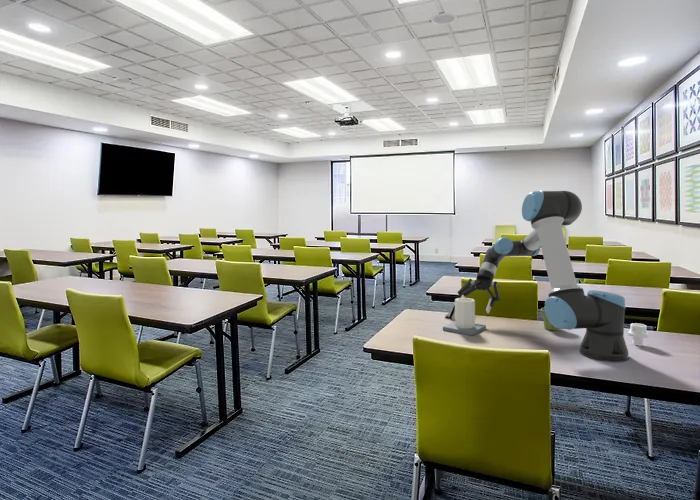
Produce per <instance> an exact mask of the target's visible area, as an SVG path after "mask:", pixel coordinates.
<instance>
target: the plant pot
mask: <svg viewBox="0 0 700 500" xmlns="http://www.w3.org/2000/svg"><path fill="white" fill-rule="evenodd" d="M540 311H541V312H542V317H543V327H544V329H545V330H548V331H549V330H550V331H553V332H554V331H559V330H560V329H558V328H556V327H554V326H553V325H552V324H551V323H550V322H549V320H548V319H547V317H546V314H545V309H544V307H541V309H540Z"/></svg>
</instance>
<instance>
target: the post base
mask: <svg viewBox="0 0 700 500" xmlns="http://www.w3.org/2000/svg"><path fill="white" fill-rule="evenodd" d="M486 329H487V325H486V324H481V323H475V327H473V328H467V329H464V328H458V327H456V326H455V321H453V322H450V323H449V324H446V325H444V326H442V330H443V331H446V332H452V333H456V334H461V335H467V336H471V337H472V336H475V335H477V334H478V333H481V332H482V331H484V330H486Z"/></svg>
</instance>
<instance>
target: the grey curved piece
mask: <svg viewBox="0 0 700 500" xmlns="http://www.w3.org/2000/svg"><path fill="white" fill-rule="evenodd" d="M446 318H451V319H452V320H455V301H454V302H453V303H452V304H451V307H450V309H449V311H448V313H446V314H445V316H444V319H446Z"/></svg>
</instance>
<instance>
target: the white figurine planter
mask: <svg viewBox="0 0 700 500" xmlns="http://www.w3.org/2000/svg"><path fill="white" fill-rule="evenodd" d="M629 328H630V329H629V330H628V332H627V335H628V336H630V337H632V345H633V344H634V345H633V346H635V345H638V346H637V347H642V346H643V344H644V339H648V337H649V333H648V332H647V328H648V327H647V325H646V324H644V323H637V322H635V323H633V322H632V323H630V327H629ZM641 345H642V346H641Z"/></svg>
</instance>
